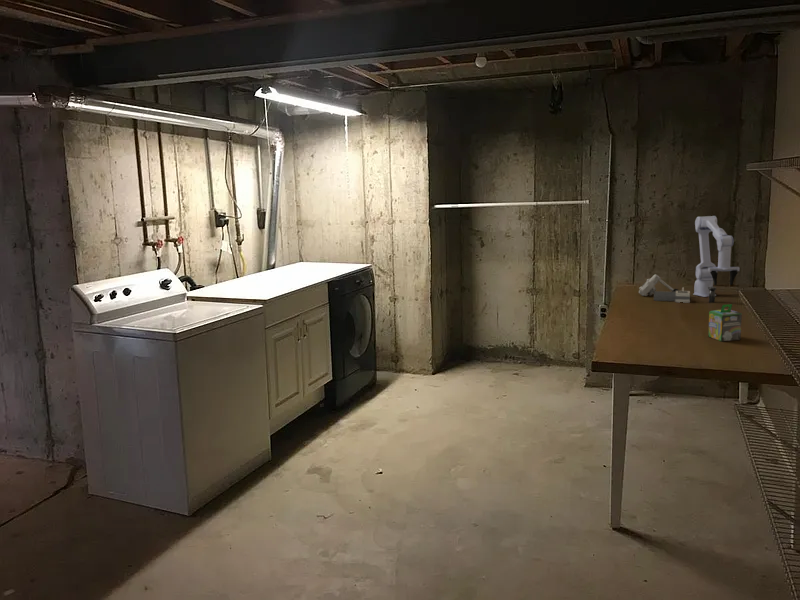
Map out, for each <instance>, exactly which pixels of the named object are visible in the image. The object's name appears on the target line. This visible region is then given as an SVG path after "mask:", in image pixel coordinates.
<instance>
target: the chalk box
mask: <svg viewBox="0 0 800 600" xmlns="http://www.w3.org/2000/svg"><path fill="white" fill-rule="evenodd" d="M727 307H728V308H727ZM732 307H733V303H728V304H727V303H726V304H722V305H721V309H715V310H710V311H708V338H712V339H713V340H716V341H719V342H732V341H733V342H734V341H740V340H741V335H742V317H743V313H742V312H739V311H735V310H732Z"/></svg>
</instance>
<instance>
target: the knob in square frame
mask: <svg viewBox="0 0 800 600" xmlns="http://www.w3.org/2000/svg"><path fill="white" fill-rule="evenodd" d="M653 301H655V302H662V301H663V302H674V303H680V302H683V303H684V304H685V303H686V304H687V303H688V304H690V302H691V291H690V290H685V287H684V286H683V287H681V290H679V291H676V292H672V291H663V290H662V291H661V290H659V291H657V290H656V291H654V293H653Z"/></svg>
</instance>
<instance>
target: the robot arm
mask: <svg viewBox="0 0 800 600" xmlns="http://www.w3.org/2000/svg"><path fill="white" fill-rule="evenodd" d="M694 225H695V226H694V227H695V232H696V233H698V241H699V242H698V243H699V256H700V257H699V258H700V263H698V264H697V265H696V266H695V278H696V280H695V282H694V288H693V290H694V291H693V292H694V293H692V295H694V296H697V297H698V296H699V297H703V298H707V297H708V298H709V289H708V287H714V286H717V283H718V282H717V281H718V274H719V273H718V272H729V285H730V286H733V284H734V280H735V278H736V276H737V275H738V272H740V266H731V259H732V258H731V257H732V255H731V254H732V247H733V246H734V242H735V240H734V237H733V235H728V233H727V232H726V231H725V229H723V228H721V227H720V226H719V225H718V218H717V216H716V215H712V216H711V215H707V216H705V215H704V216H697V217H696V218H695V221H694ZM711 232H712V237H714V239H715V240H716V246H717V251H718V255H717V256H718V257H717V259H718V260H717V261H718V262H717V266H716V264H715V263H713V262H712V261H711V260H712V259H711V252H710V251H711V250H710V236H709V234H710V233H711ZM716 296H717V294H715V297H716Z"/></svg>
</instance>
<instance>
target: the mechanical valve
mask: <svg viewBox="0 0 800 600" xmlns="http://www.w3.org/2000/svg"><path fill="white" fill-rule="evenodd" d="M658 282H659V283H660V284H662V285H663V286H664V287H666V289H669V291H670V292H676V291H680V290H679V288H673V287H672V286H670V285H669V284H667V282H665V281H664V280H663V279H661V277H660V276H659V275H658V274H656V273H655V274H654V275H652V277H651V278H647V279H646V282H644V283H642V286H641V285H640V287H639V288H638V289H639V290H638V294H639V295H641V296H642V297H644V296H645V297H647V296H652V295H654V291H657V288H656V284H658Z"/></svg>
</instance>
